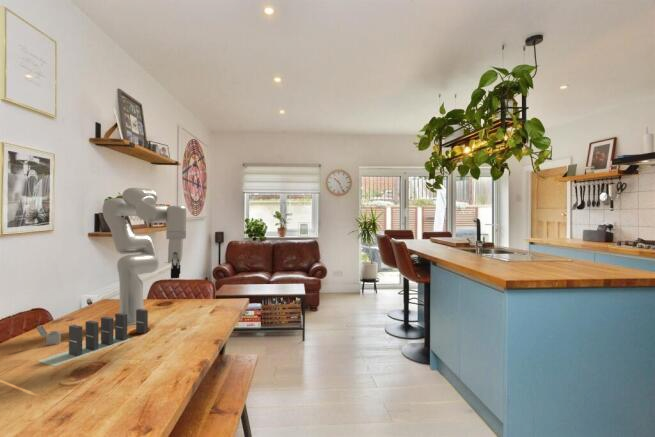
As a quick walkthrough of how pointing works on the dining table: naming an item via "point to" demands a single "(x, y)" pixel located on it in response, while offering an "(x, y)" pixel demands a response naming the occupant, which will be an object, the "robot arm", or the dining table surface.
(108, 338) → the domino
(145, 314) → the domino
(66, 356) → the mat
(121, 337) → the domino
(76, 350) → the domino
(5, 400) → the dining table surface
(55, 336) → the lighter
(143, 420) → the dining table surface
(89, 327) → the domino
